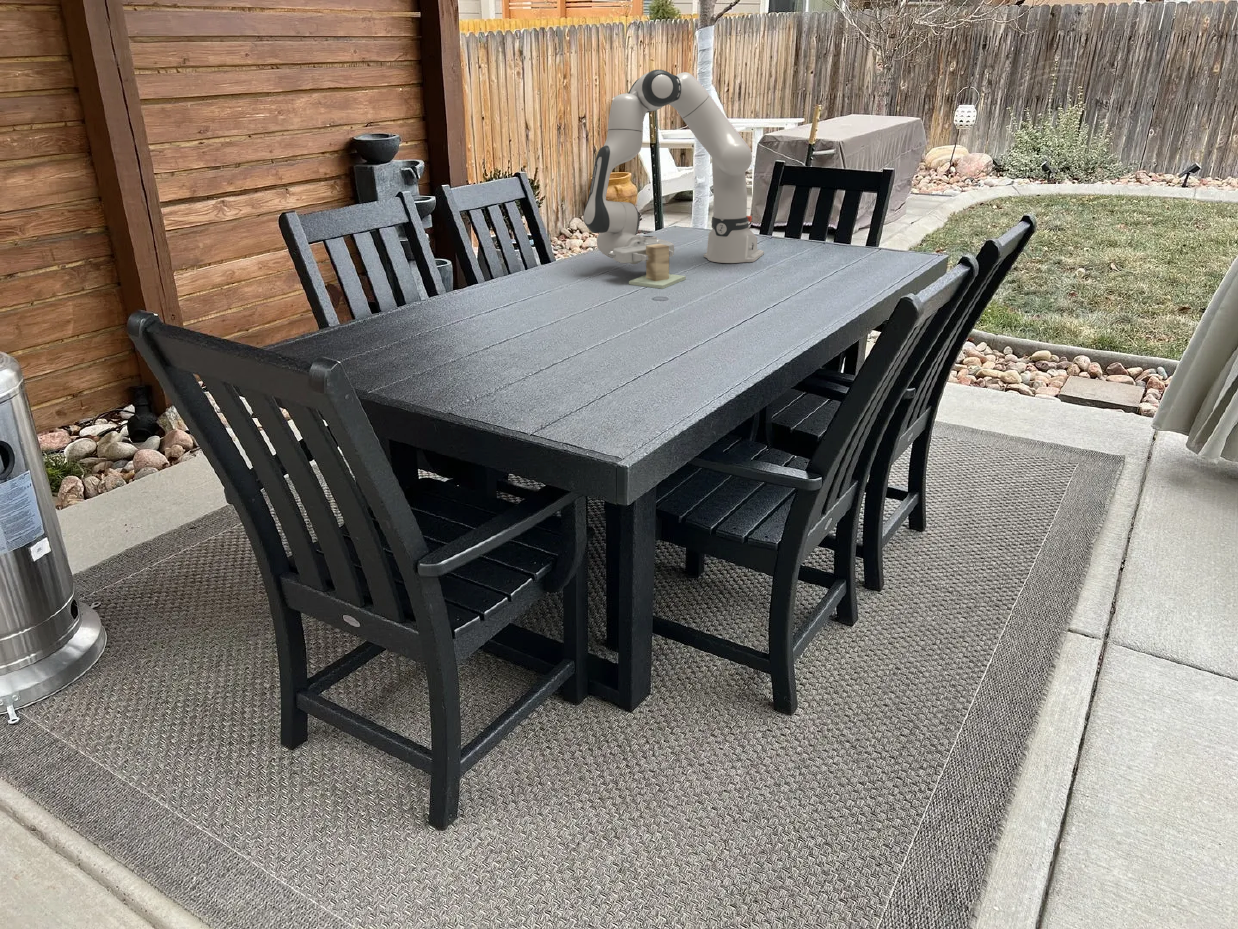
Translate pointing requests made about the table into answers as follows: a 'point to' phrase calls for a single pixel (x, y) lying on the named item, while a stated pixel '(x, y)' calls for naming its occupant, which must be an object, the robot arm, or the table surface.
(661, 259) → the oak block
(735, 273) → the table surface
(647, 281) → the sage mat
